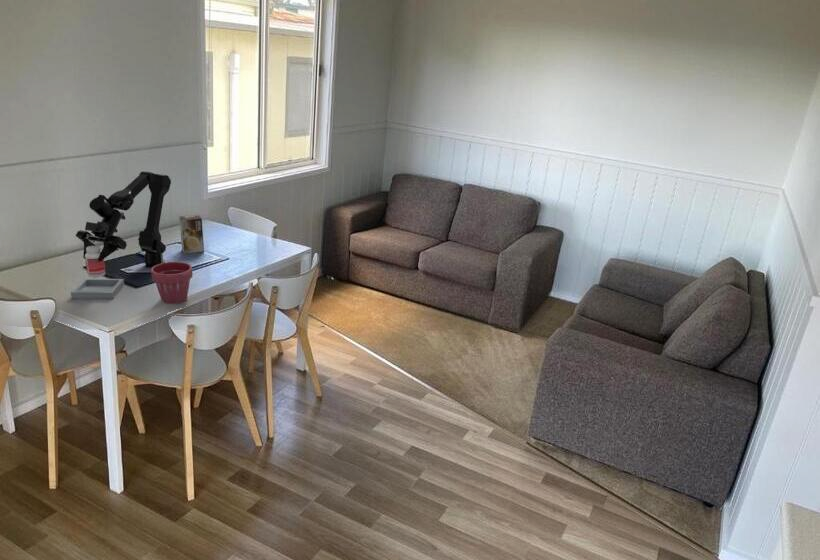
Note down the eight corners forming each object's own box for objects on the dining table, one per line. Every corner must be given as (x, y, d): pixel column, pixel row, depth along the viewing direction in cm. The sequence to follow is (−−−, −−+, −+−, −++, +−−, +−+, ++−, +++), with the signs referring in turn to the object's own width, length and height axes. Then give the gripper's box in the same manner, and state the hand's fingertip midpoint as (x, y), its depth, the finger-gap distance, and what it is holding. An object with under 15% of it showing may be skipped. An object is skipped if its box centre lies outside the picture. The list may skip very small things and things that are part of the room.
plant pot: (145, 302, 229) (142, 270, 225) (170, 289, 242) (168, 259, 237) (177, 309, 225) (175, 276, 221) (201, 296, 238) (199, 265, 233)
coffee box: (201, 247, 291) (200, 214, 286) (204, 252, 286) (202, 218, 280) (181, 249, 287) (179, 216, 282) (183, 253, 282) (181, 219, 276)
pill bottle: (109, 274, 235) (105, 247, 231) (94, 279, 230) (90, 251, 226) (98, 270, 238) (95, 243, 234) (83, 275, 233) (80, 247, 229)
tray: (124, 284, 244) (123, 279, 243) (112, 299, 230) (112, 292, 229) (85, 284, 242) (84, 278, 241) (71, 298, 228) (70, 292, 227)
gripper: (75, 209, 231) (56, 246, 225) (117, 216, 227) (99, 253, 221) (93, 224, 241) (76, 259, 235) (134, 230, 237) (117, 267, 231)
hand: (91, 259), depth 230 cm, fingers closed on pill bottle, 6 cm apart
